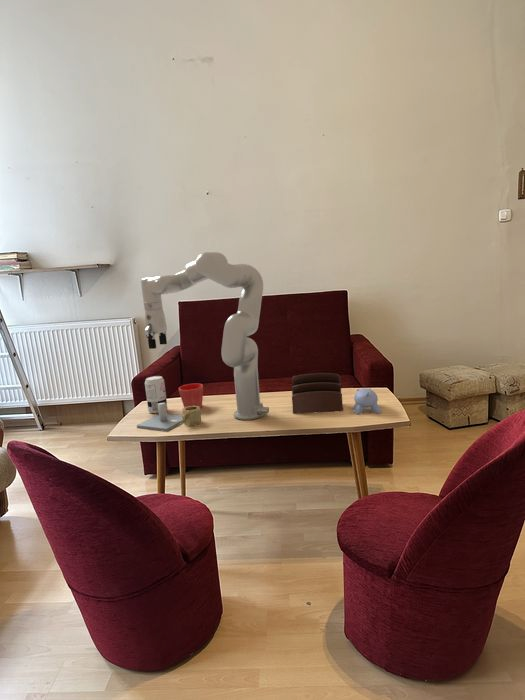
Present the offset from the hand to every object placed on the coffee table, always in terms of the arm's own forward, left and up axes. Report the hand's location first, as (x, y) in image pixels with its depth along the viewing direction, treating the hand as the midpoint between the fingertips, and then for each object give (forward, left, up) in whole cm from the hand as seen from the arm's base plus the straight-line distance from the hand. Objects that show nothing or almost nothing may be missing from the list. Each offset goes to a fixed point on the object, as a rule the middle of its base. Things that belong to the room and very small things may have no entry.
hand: (158, 346), depth 194 cm
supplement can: (+2, +3, -29) cm, 29 cm away
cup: (-23, +13, -28) cm, 39 cm away
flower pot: (-11, -5, -29) cm, 31 cm away
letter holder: (-65, -16, -29) cm, 73 cm away
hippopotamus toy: (-84, -20, -29) cm, 91 cm away
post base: (-11, +15, -28) cm, 34 cm away
